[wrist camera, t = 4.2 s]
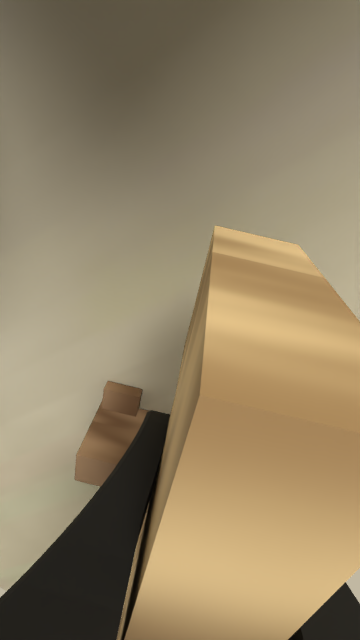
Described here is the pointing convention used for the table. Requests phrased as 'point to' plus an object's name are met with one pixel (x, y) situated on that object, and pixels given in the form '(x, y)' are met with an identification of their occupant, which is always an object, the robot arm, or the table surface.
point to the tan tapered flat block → (254, 456)
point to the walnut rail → (109, 433)
